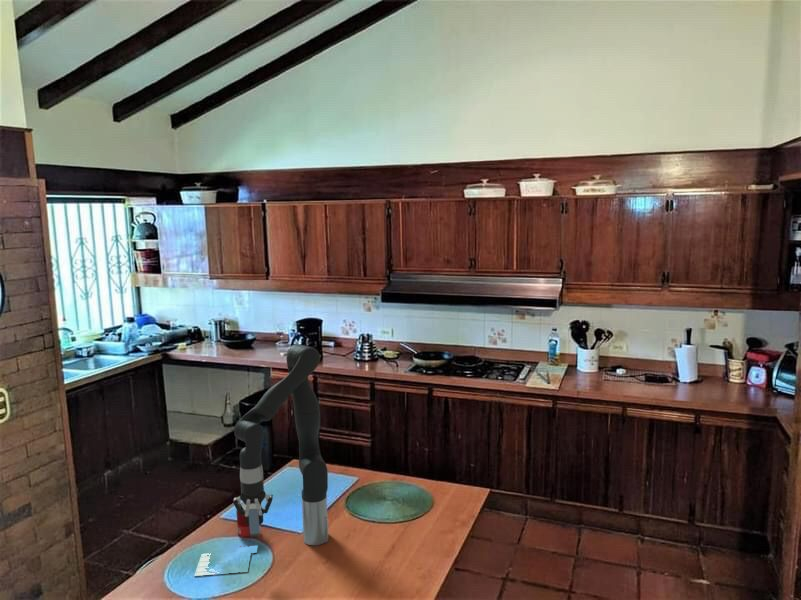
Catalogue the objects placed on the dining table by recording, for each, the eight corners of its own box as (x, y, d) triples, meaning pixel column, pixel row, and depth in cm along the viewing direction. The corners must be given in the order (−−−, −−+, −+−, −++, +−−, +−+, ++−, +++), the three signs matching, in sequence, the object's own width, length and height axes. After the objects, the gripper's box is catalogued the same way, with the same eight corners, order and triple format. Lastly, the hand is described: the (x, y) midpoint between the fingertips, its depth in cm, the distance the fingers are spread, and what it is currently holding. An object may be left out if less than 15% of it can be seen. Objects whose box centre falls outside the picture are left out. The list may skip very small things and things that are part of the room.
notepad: (252, 550, 221) (252, 549, 221) (248, 572, 208) (247, 571, 208) (201, 554, 219) (201, 553, 218) (194, 577, 206) (194, 575, 206)
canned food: (253, 539, 228) (252, 512, 226) (234, 537, 230) (232, 510, 228) (262, 528, 235) (260, 502, 234) (243, 526, 237) (241, 500, 235)
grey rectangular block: (260, 530, 209) (258, 498, 207) (259, 535, 206) (257, 502, 204) (251, 531, 209) (249, 499, 207) (250, 536, 206) (247, 503, 204)
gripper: (273, 471, 208) (276, 517, 211) (232, 474, 207) (235, 520, 210) (272, 481, 201) (274, 528, 204) (228, 484, 199) (232, 532, 202)
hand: (254, 524), depth 207 cm, fingers closed on grey rectangular block, 3 cm apart
